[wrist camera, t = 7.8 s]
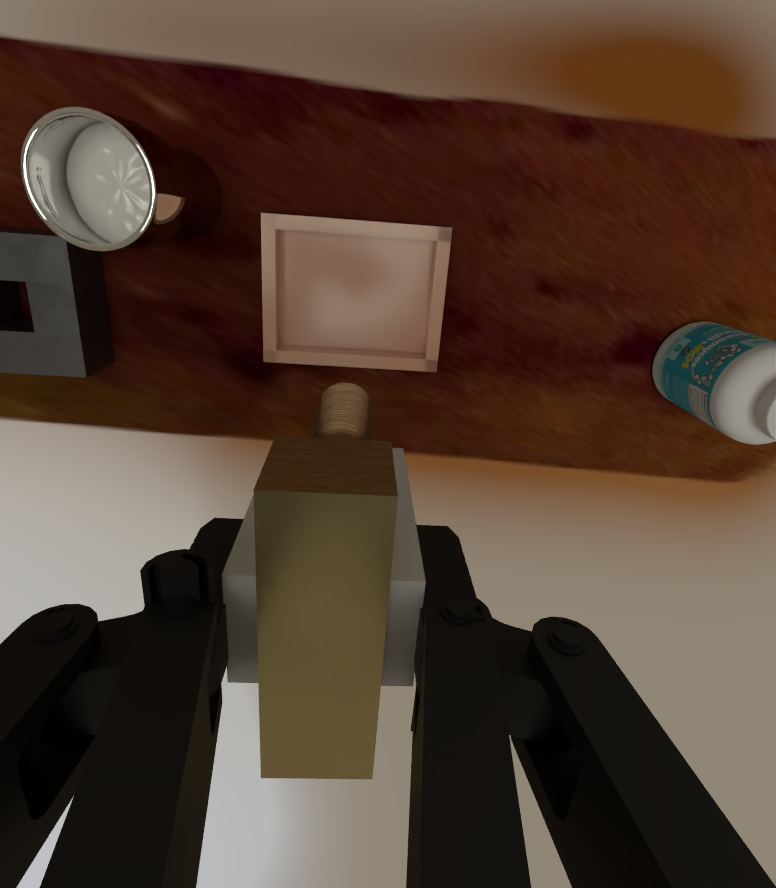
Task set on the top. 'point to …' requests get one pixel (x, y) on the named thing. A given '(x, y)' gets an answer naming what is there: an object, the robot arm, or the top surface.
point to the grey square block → (52, 306)
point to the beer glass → (114, 182)
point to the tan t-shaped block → (323, 591)
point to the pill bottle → (721, 379)
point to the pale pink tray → (353, 292)
